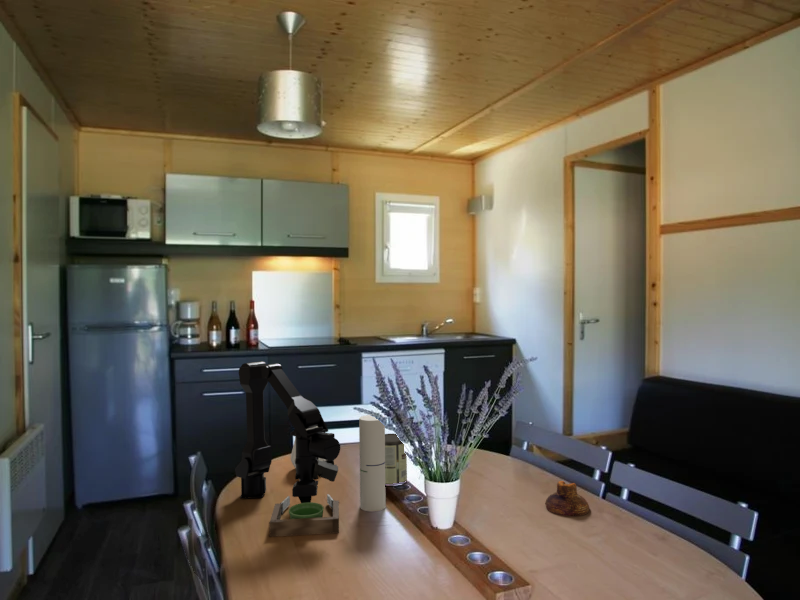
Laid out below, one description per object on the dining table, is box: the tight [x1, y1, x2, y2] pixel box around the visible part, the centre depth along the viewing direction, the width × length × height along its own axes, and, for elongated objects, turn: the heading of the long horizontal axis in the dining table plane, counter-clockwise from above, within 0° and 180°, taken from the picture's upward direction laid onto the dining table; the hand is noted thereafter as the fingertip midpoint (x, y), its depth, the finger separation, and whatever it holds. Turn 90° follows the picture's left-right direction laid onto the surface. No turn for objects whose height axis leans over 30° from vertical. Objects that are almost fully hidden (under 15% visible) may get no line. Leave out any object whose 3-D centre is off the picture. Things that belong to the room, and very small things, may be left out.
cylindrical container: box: [358, 414, 387, 512], centre depth 156 cm, size 7×7×25 cm
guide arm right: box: [326, 493, 336, 513], centre depth 155 cm, size 6×1×3 cm, turn 22°
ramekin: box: [288, 501, 325, 519], centre depth 144 cm, size 9×9×4 cm
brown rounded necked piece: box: [544, 480, 590, 517], centre depth 154 cm, size 12×12×7 cm
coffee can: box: [385, 433, 408, 484], centre depth 177 cm, size 10×10×14 cm
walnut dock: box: [268, 500, 340, 538], centre depth 144 cm, size 17×12×4 cm
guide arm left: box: [280, 495, 291, 516], centre depth 154 cm, size 6×1×3 cm, turn 170°
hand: (306, 510), depth 151 cm, fingers closed
